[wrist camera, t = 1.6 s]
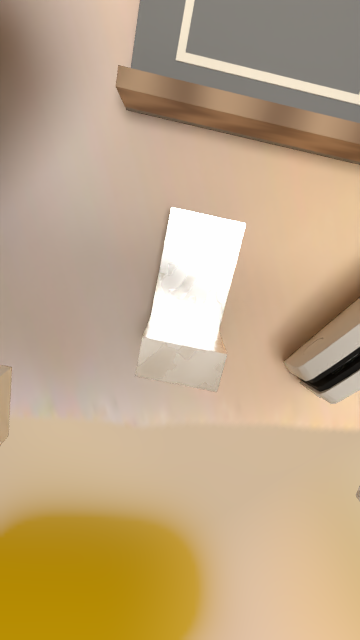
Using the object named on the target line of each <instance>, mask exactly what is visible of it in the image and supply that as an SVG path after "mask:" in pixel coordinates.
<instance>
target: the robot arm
mask: <svg viewBox="0 0 360 640" xmlns="http://www.w3.org/2000/svg"><path fill="white" fill-rule="evenodd" d="M11 374H12V367H8V366H3V365H0V445H1V444H2V443H3V442H4V441H5V439H6V438H7V437H8V435H9V415H10V395H11ZM356 497H357V498H358V500H359V501H360V486H359V489H358V491H357V493H356Z"/></svg>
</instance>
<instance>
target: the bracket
mask: <svg viewBox="0 0 360 640" xmlns="http://www.w3.org/2000/svg"><path fill="white" fill-rule="evenodd" d="M245 226H246V223H242V222H237V221H233V220H228V219H224V218H219V217H215V216H210V215H206V214H201V213H196V212H192V211H187V210H183V209H178V208H174V207H171V212H170V217H169V222H168V227H167V233H166V238H165V243H164V248H163V254H162V259H161V264H160V270H159V275H158V280H157V285H156V291H155V296H154V301H153V306H152V312H151V317H150V319H149V322H148V324H147V327H146V329H145V332H144V334H143V337H142V341H141V347H140V352H139V357H138V363H137V368H136V374H135V376H137V377H142V378H147V379H152V380H157V381H163V382H168V383H173V384H178V385H183V386H188V387H193V388H198V389H204V390H209V391H214V392H217V390H218V387H219V383H220V379H221V376H222V372H223V368H224V364H225V361H226V357H227V352H226V349H225V346H224V344H223V341H222V338H221V335H220V332H219V327H220V323H221V319H222V315H223V312H224V308H225V304H226V300H227V296H228V292H229V288H230V284H231V280H232V276H233V273H234V269H235V265H236V261H237V257H238V253H239V249H240V245H241V241H242V238H243V234H244V230H245Z"/></svg>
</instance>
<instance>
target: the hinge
mask: <svg viewBox="0 0 360 640" xmlns="http://www.w3.org/2000/svg"><path fill="white" fill-rule="evenodd" d="M284 364H285V366H286V367H287V369H288V370H289V372H290V373H292V374H294V375H295V376H297V377H299V378H300V379H301V380H302V381H301V382H300V383H301V384H302V385H303V386H305V387H306V388H307V389H309V390H310V391H311V392H313V393H314V394H315V395H317V396H318V397H319V398H323V399H324V400H326V401H327V402H329V403H331V404H335V403H337V402H340V401H342V400H343V399H345V398H347V397H348V396H350V395H352V394H354V393H355V392H357V391H359V390H360V297H359V298H358V299H357V300H356V301H355V302H354V303H352V304H351V305H350V306H349V307H348V308H346V309H345V310H344V311H343V312H342V313H341V314H339V315H338V316H337V317H336V318H335V319H333V320H332V321H331V322H330V323H329V324H328V325H326V326H325V327H324V328H323V329H322V330H320V331H319V332H318V333H317V334H316V335H315V336H313V337H312V338H311V339H310V340H309V341H308V342H306V343H305V344H304V345H303V346H302V347H300V348H299V349H298V350H297V351H296V352H295V353H293V354H292V355H291V356H290V357H289V358H287V359H286V360H285V361H284Z"/></svg>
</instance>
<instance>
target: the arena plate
mask: <svg viewBox="0 0 360 640" xmlns="http://www.w3.org/2000/svg"><path fill="white" fill-rule="evenodd" d="M131 68H132V69H136V70H140V71H145V72H149V73H153V74H157V75H161V76H165V77H170V78H174V79H178V80H182V81H186V82H190V83H194V84H199V85H203V86H207V87H211V88H215V89H219V90H224V91H228V92H232V93H236V94H240V95H244V96H249V97H253V98H257V99H261V100H265V101H269V102H273V103H278V104H282V105H286V106H290V107H294V108H298V109H303V110H307V111H311V112H315V113H319V114H323V115H327V116H332V117H336V118H340V119H344V120H348V121H352V122H357V123H360V0H140V5H139V12H138V19H137V26H136V34H135V41H134V48H133V55H132V63H131ZM126 109H127V110H129V111H134V112H138V113H142V114H146V115H151V116H155V117H159V118H164V119H168V120H172V121H176V122H181V123H185V124H189V125H193V126H198V127H202V128H206V129H210V130H215V131H219V132H223V133H228V134H232V135H236V136H240V137H245V138H249V139H253V140H257V141H262V142H266V143H270V144H275V145H279V146H283V147H287V148H292V149H296V150H300V151H304V152H309V153H313V154H317V155H321V156H326V157H330V158H334V159H339V160H343V161H347V162H351V163H356V164H360V162H358V161H354V160H349V159H345V158H341V157H337V156H332V155H328V154H324V153H320V152H315V151H311V150H307V149H303V148H298V147H294V146H290V145H285V144H281V143H277V142H273V141H268V140H264V139H260V138H256V137H251V136H247V135H243V134H239V133H234V132H230V131H226V130H222V129H217V128H213V127H209V126H205V125H200V124H196V123H192V122H187V121H183V120H179V119H175V118H170V117H166V116H162V115H158V114H153V113H149V112H145V111H141V110H136V109H132V108H128V107H126Z"/></svg>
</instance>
